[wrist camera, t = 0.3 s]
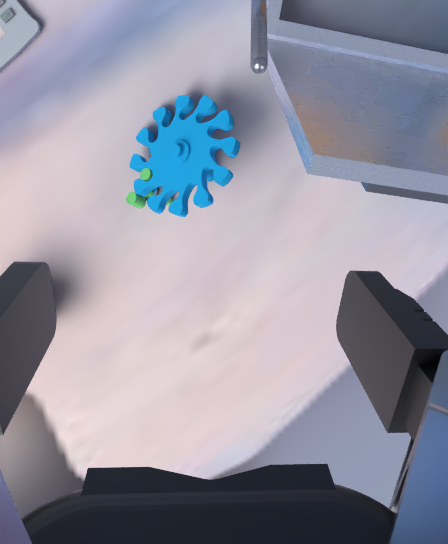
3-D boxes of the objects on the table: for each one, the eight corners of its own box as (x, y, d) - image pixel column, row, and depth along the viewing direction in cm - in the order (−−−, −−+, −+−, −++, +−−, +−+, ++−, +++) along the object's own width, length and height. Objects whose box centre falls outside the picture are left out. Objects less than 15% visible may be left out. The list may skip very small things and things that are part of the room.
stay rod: (252, -42, 29) (278, -92, 21) (266, -39, 30) (297, -87, 21) (234, 72, 33) (250, 72, 24) (246, 74, 33) (267, 75, 24)
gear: (199, 64, 32) (253, 161, 29) (232, 101, 37) (281, 187, 34) (101, 149, 36) (139, 244, 33) (144, 172, 41) (180, 256, 38)
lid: (314, 154, 15) (302, 187, 16) (707, 217, 18) (678, 243, 18) (262, 36, 30) (257, 57, 31) (477, 79, 33) (467, 97, 34)
